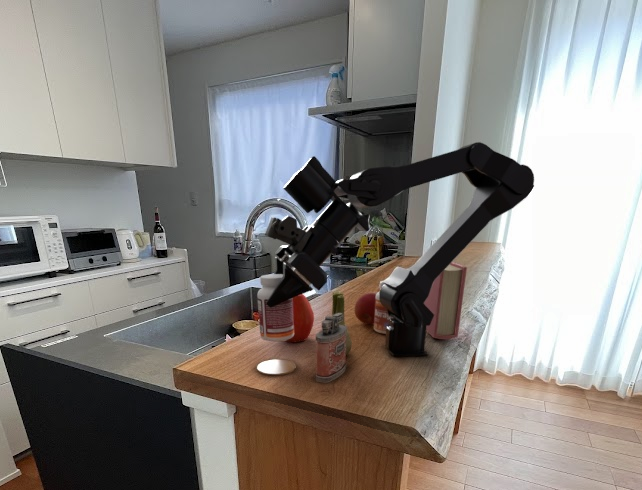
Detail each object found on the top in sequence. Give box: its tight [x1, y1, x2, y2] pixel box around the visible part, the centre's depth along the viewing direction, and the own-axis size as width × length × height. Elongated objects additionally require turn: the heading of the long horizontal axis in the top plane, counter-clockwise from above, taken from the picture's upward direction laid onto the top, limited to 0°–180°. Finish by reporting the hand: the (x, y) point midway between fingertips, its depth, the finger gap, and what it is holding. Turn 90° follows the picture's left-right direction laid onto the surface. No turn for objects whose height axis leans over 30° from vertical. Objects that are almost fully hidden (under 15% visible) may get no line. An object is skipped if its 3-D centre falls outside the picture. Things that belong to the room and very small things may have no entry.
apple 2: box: [354, 292, 378, 325], centre depth 92 cm, size 8×8×8 cm
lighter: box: [315, 313, 348, 383], centre depth 63 cm, size 8×3×10 cm, turn 148°
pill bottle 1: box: [257, 273, 294, 342], centre depth 67 cm, size 6×6×11 cm
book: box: [424, 261, 468, 340], centre depth 84 cm, size 14×15×5 cm
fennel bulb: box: [331, 291, 352, 356], centre depth 71 cm, size 6×5×12 cm
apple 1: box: [285, 293, 315, 343], centre depth 81 cm, size 8×8×11 cm
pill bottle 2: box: [373, 280, 392, 335], centre depth 85 cm, size 6×6×11 cm
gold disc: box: [256, 359, 297, 376], centre depth 67 cm, size 7×7×1 cm
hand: (266, 301), depth 66 cm, fingers closed on pill bottle 1, 6 cm apart
